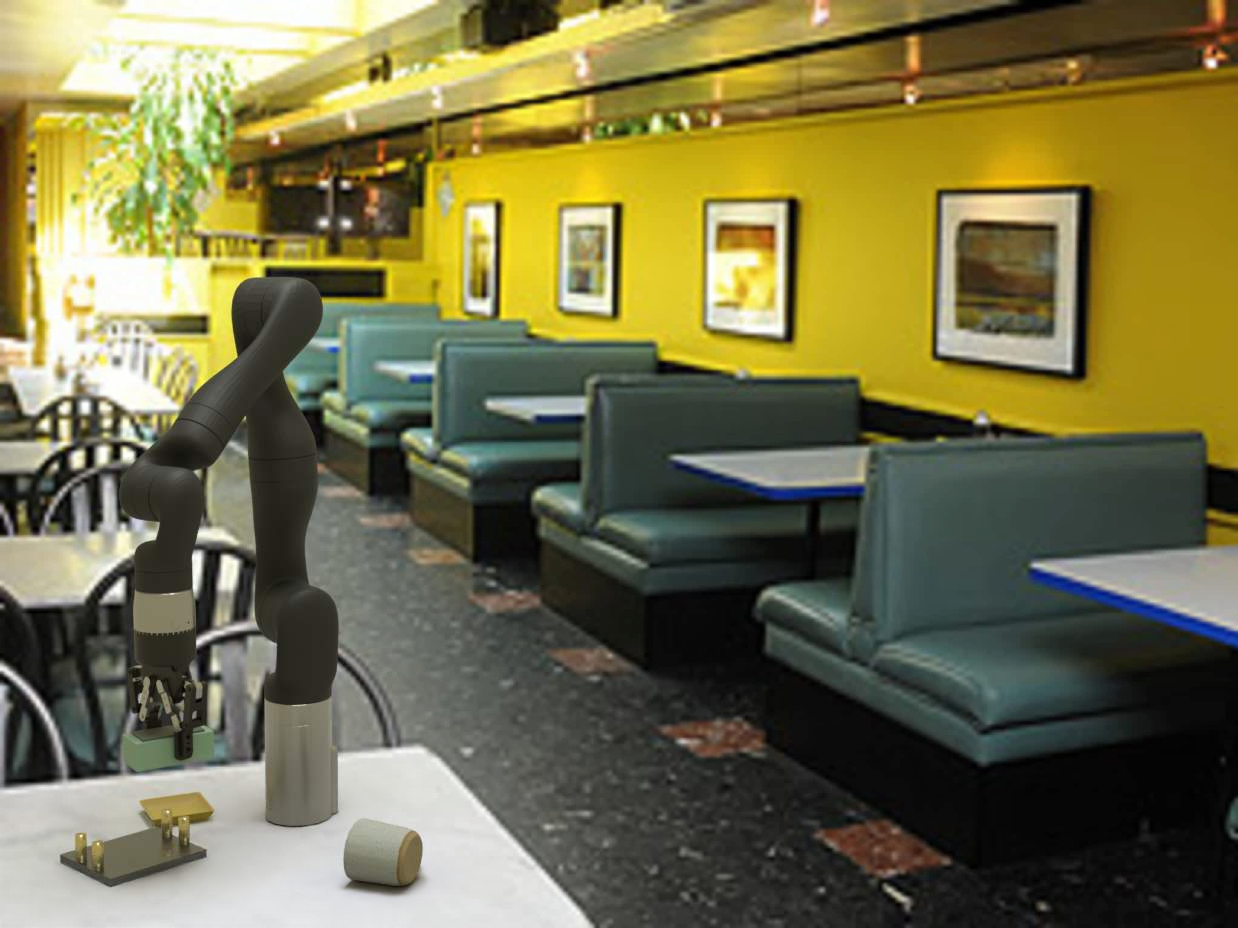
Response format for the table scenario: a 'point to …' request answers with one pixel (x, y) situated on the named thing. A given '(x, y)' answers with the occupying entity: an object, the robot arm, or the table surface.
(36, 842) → the table surface
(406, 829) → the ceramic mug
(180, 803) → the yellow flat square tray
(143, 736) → the green rectangular block
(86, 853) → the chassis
